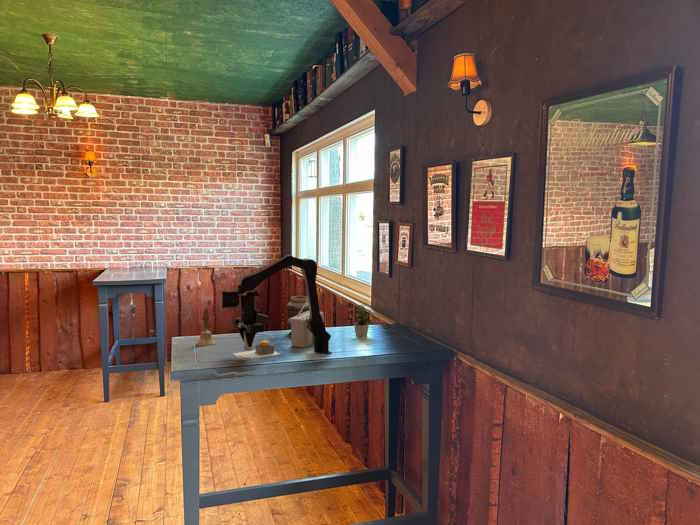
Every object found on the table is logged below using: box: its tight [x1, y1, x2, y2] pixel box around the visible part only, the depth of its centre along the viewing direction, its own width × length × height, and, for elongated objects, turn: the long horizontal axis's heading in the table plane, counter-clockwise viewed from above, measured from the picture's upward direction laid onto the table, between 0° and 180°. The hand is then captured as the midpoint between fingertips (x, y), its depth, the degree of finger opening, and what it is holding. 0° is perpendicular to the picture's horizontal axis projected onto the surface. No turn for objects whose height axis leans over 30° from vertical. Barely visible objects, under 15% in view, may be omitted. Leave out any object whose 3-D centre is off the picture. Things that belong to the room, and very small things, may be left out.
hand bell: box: [196, 307, 217, 347], centre depth 229 cm, size 8×8×16 cm
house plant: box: [348, 303, 374, 339], centre depth 247 cm, size 14×14×16 cm
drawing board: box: [232, 349, 280, 361], centre depth 211 cm, size 11×16×1 cm
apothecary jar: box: [286, 295, 309, 335], centre depth 251 cm, size 12×12×18 cm
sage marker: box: [243, 330, 253, 352], centre depth 207 cm, size 3×3×8 cm
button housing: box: [255, 342, 275, 355], centre depth 214 cm, size 6×6×3 cm
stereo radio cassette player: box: [289, 300, 325, 349], centre depth 232 cm, size 21×8×20 cm, turn 161°
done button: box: [259, 340, 270, 347], centre depth 214 cm, size 4×4×2 cm
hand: (248, 346), depth 207 cm, fingers closed on sage marker, 3 cm apart
